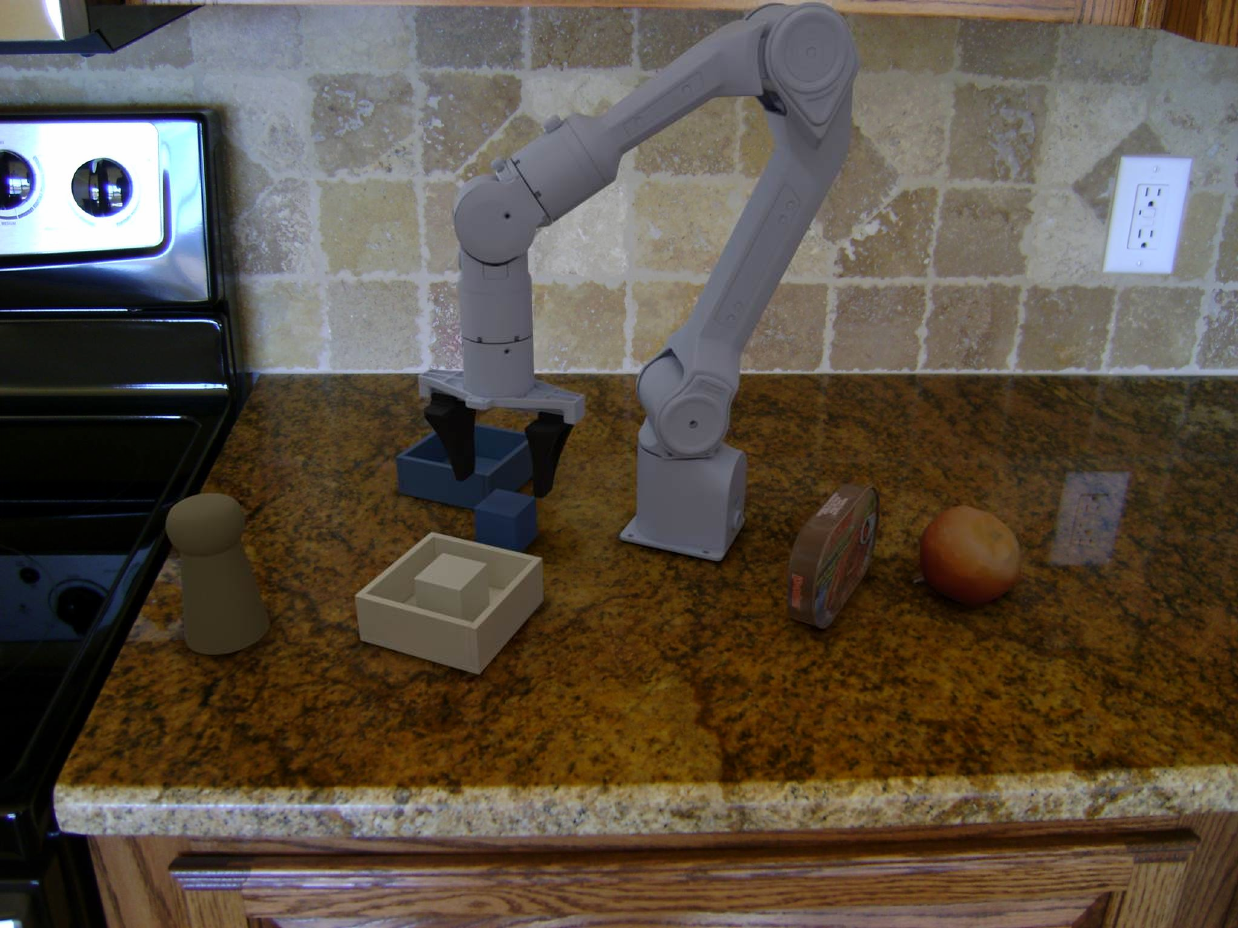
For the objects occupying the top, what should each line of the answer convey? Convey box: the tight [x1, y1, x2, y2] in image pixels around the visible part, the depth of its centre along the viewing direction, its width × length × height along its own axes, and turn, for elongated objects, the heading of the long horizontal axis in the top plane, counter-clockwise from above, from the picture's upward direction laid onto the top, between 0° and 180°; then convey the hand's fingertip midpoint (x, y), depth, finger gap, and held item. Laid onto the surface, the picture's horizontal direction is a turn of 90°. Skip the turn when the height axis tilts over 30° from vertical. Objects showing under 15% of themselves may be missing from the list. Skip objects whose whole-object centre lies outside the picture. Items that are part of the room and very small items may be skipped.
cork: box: [165, 492, 271, 656], centre depth 68 cm, size 6×6×11 cm
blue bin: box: [395, 422, 533, 511], centre depth 93 cm, size 10×10×4 cm
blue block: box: [473, 489, 538, 553], centre depth 82 cm, size 4×4×4 cm
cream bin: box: [354, 531, 545, 676], centre depth 71 cm, size 10×10×4 cm
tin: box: [786, 482, 881, 630], centre depth 74 cm, size 15×3×8 cm, turn 148°
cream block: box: [414, 553, 490, 622], centre depth 71 cm, size 4×4×4 cm
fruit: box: [913, 504, 1022, 607], centre depth 76 cm, size 8×8×8 cm
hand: (503, 484), depth 80 cm, fingers open, 7 cm apart
